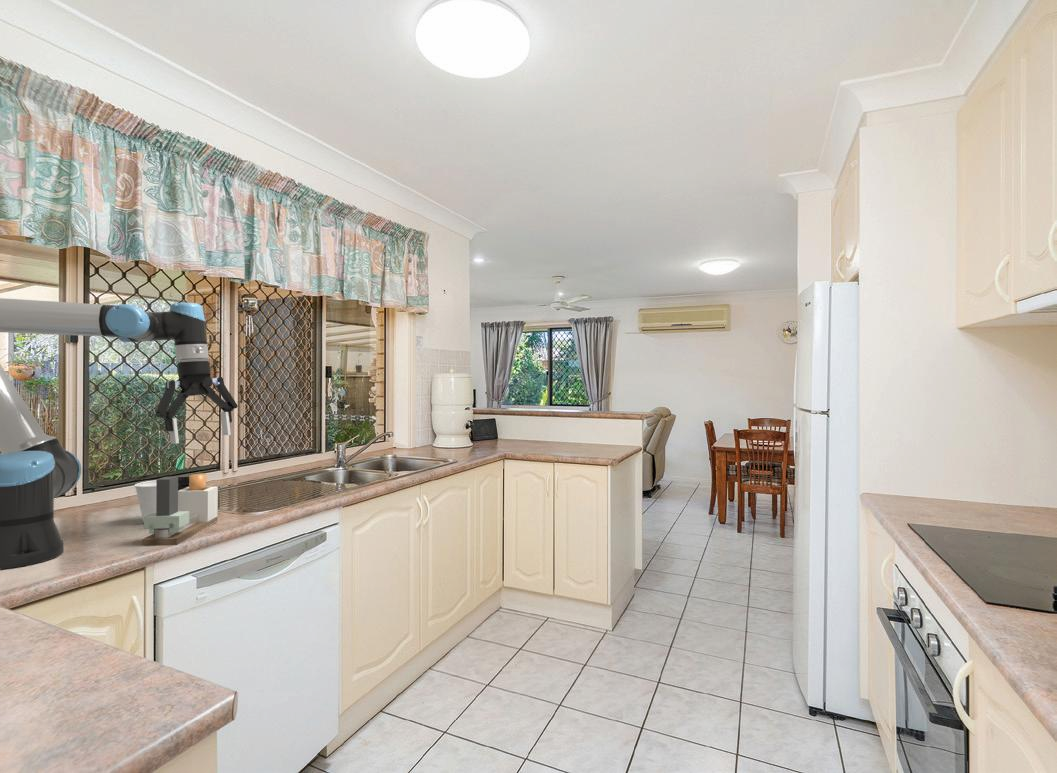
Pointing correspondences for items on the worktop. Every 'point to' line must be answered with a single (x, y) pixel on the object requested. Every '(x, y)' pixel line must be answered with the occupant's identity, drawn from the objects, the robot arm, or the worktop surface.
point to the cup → (146, 497)
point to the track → (177, 533)
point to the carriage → (166, 508)
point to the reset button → (197, 482)
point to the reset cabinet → (199, 503)
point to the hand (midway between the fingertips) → (201, 439)
